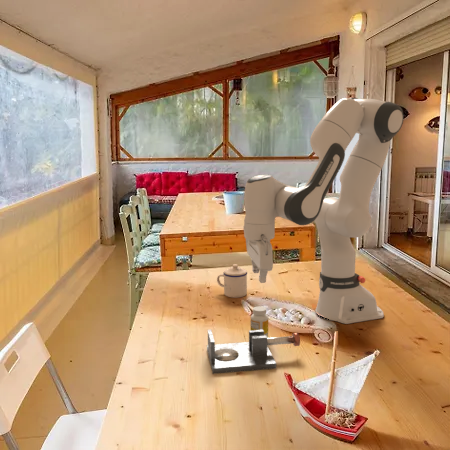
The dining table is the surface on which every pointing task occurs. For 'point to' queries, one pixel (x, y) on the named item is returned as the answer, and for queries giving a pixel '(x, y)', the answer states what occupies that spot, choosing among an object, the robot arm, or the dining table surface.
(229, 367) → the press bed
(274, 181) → the robot arm
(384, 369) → the dining table surface
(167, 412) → the dining table surface
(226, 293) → the teacup with lid
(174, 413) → the dining table surface
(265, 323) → the supplement bottle
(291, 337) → the ram
